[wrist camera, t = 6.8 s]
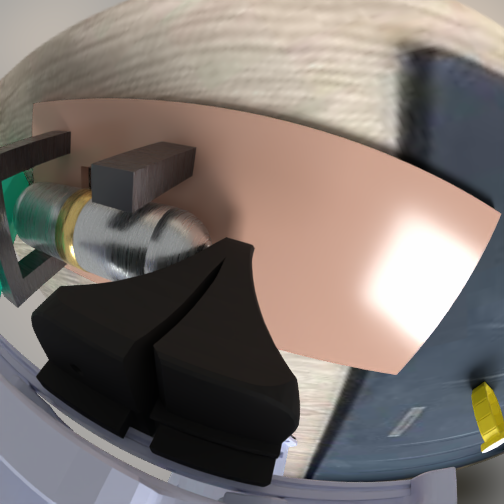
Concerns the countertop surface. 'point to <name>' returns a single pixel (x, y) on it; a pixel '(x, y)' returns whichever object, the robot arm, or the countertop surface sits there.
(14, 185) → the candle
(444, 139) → the countertop surface
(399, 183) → the plate
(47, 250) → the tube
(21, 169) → the black upright posts
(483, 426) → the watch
